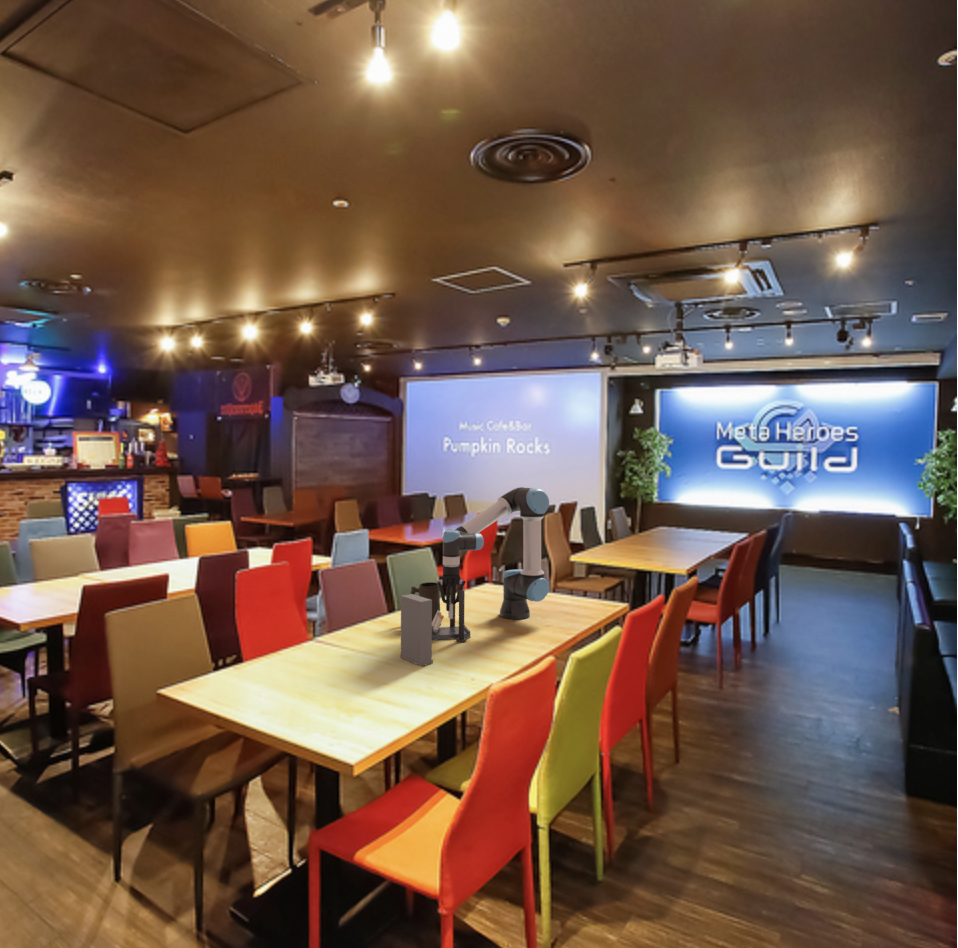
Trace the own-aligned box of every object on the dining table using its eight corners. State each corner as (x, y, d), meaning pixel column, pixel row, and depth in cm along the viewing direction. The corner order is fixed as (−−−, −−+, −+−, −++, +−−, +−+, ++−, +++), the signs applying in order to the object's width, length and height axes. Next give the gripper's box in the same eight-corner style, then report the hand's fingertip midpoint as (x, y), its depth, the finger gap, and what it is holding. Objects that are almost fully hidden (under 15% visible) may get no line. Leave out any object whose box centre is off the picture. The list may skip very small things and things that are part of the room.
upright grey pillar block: (433, 663, 251) (433, 599, 250) (420, 666, 247) (421, 602, 246) (412, 654, 261) (413, 593, 260) (400, 657, 257) (400, 595, 256)
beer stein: (444, 622, 310) (441, 581, 309) (440, 628, 299) (438, 585, 299) (412, 623, 312) (410, 582, 311) (408, 629, 301) (405, 587, 300)
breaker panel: (464, 630, 297) (464, 624, 297) (470, 637, 286) (470, 631, 285) (412, 633, 291) (412, 627, 291) (416, 641, 279) (416, 635, 279)
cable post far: (456, 628, 300) (456, 581, 300) (458, 630, 296) (458, 583, 295) (446, 628, 299) (447, 581, 298) (448, 631, 295) (449, 583, 294)
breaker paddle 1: (432, 627, 294) (440, 611, 294) (434, 630, 290) (441, 613, 291) (429, 626, 293) (437, 610, 294) (430, 628, 290) (438, 611, 290)
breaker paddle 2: (435, 631, 288) (442, 614, 288) (436, 633, 284) (444, 616, 285) (431, 630, 287) (439, 613, 288) (433, 632, 284) (441, 615, 285)
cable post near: (465, 639, 283) (465, 589, 282) (467, 642, 279) (467, 591, 278) (455, 640, 282) (455, 589, 281) (457, 642, 278) (457, 592, 277)
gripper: (463, 563, 292) (462, 615, 293) (435, 564, 289) (434, 616, 289) (467, 566, 285) (466, 619, 285) (438, 567, 281) (437, 621, 282)
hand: (450, 618), depth 287 cm, fingers closed
